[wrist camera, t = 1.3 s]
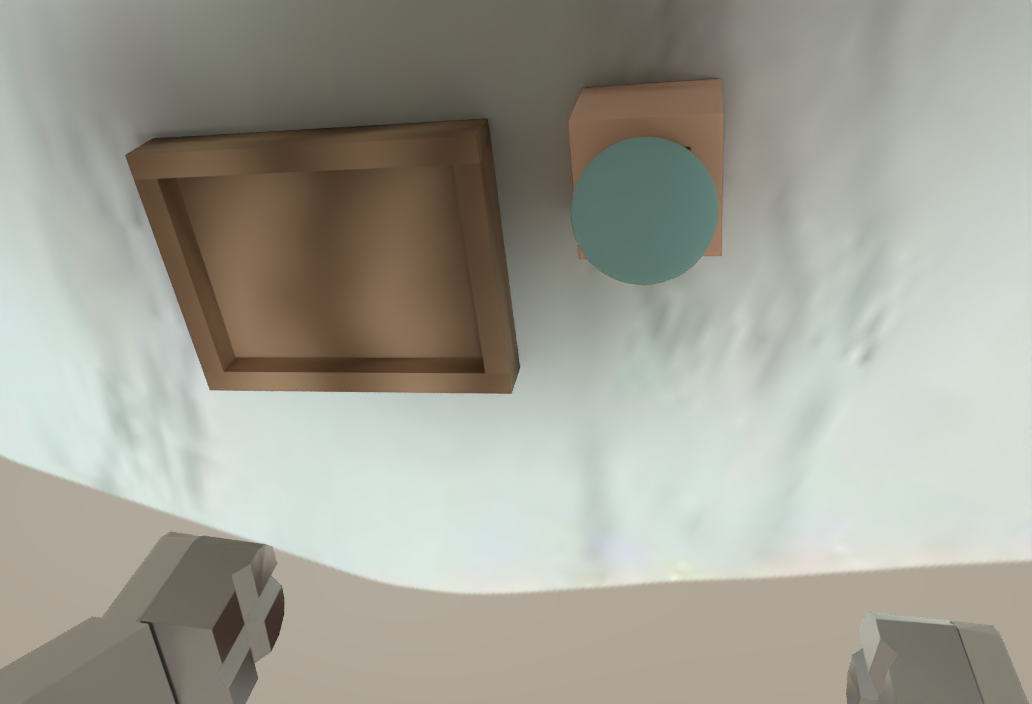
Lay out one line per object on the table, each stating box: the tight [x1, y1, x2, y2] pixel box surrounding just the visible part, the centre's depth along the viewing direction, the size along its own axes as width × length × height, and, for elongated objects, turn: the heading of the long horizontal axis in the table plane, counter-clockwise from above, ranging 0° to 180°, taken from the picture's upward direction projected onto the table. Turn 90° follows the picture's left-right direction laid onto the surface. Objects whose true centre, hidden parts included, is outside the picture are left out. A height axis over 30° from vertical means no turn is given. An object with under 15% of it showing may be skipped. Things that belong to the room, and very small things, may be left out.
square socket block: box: [568, 79, 724, 259], centre depth 29 cm, size 5×5×4 cm
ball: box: [571, 137, 719, 285], centre depth 26 cm, size 4×4×4 cm
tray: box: [125, 119, 520, 394], centre depth 35 cm, size 14×11×2 cm
